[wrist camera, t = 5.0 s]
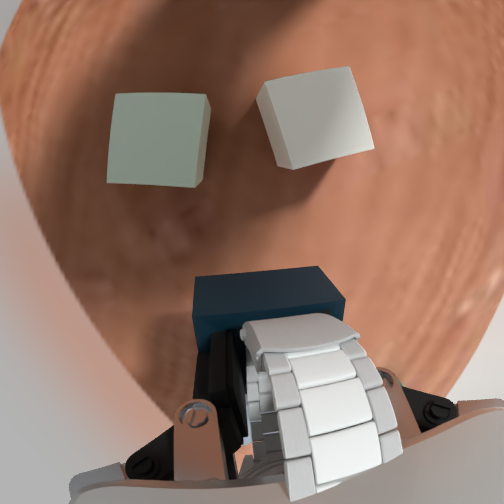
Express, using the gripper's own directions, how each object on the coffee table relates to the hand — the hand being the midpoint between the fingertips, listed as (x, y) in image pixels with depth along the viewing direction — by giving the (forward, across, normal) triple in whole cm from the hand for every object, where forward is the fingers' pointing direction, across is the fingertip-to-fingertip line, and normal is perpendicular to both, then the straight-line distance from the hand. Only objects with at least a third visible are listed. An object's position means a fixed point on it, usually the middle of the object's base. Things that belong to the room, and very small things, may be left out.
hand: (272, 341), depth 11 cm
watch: (+3, 0, 0) cm, 3 cm away
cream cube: (+11, -4, -9) cm, 15 cm away
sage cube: (+11, +4, -9) cm, 15 cm away
